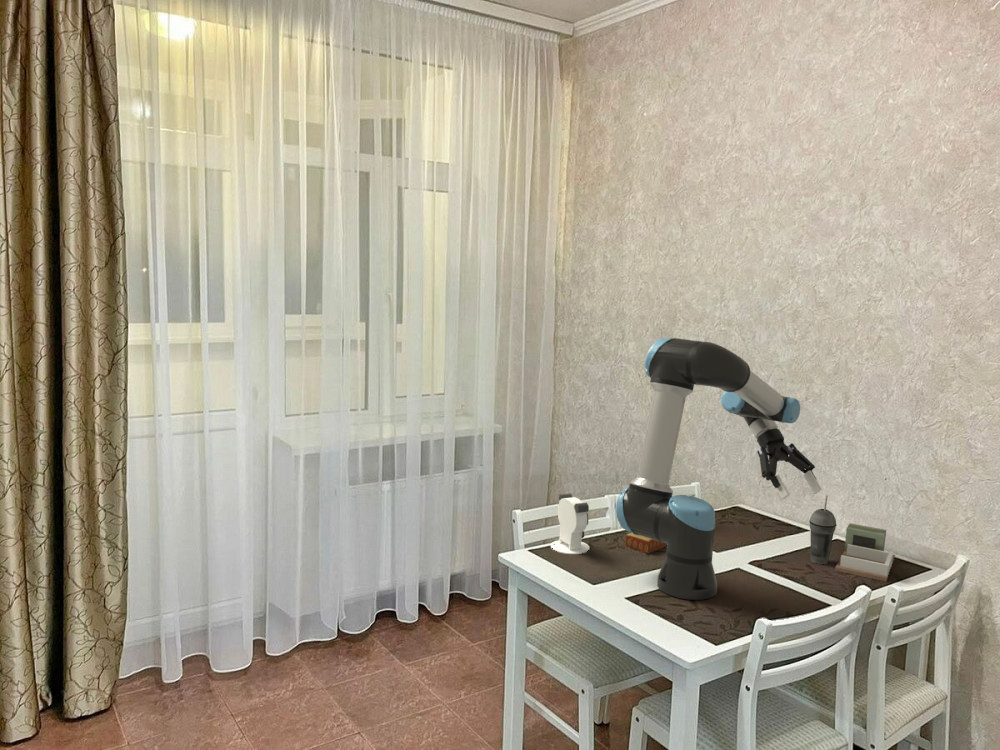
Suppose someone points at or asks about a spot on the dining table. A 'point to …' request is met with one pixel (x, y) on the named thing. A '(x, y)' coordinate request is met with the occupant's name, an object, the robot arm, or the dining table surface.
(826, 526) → the beverage cup
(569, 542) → the white upright piece
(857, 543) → the desk organizer
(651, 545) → the carton
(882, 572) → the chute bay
